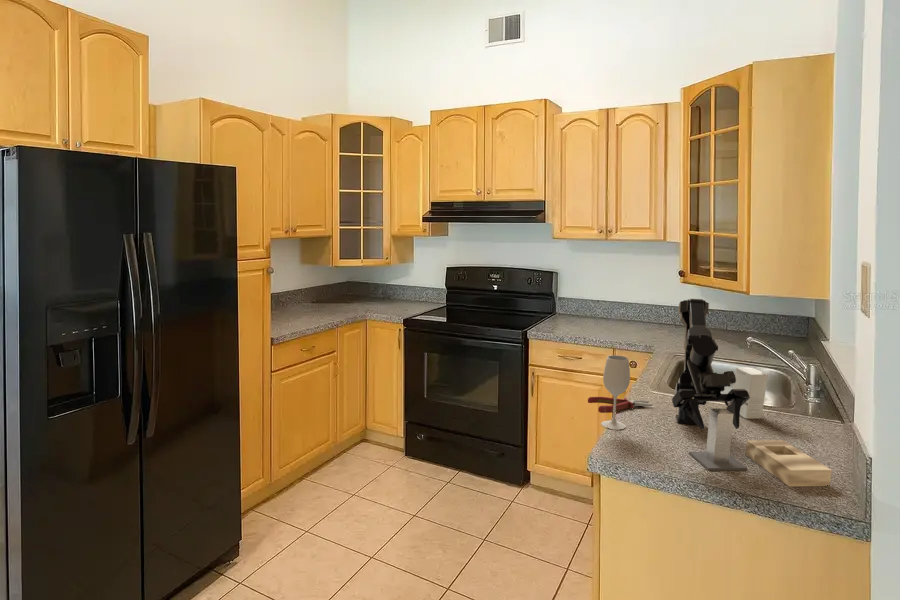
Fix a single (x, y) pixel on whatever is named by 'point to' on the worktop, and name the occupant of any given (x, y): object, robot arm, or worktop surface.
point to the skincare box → (751, 390)
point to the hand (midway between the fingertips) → (720, 428)
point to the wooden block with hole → (788, 463)
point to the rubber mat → (710, 465)
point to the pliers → (620, 404)
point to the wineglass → (616, 384)
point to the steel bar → (719, 435)
